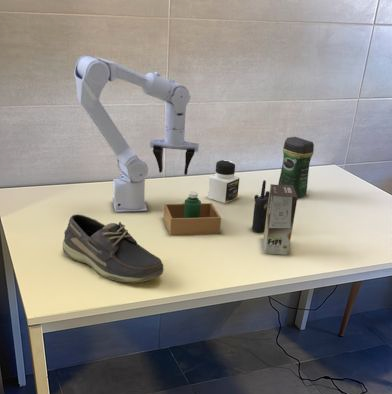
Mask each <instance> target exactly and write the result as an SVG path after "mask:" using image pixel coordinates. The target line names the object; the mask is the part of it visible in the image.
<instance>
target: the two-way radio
mask: <svg viewBox="0 0 392 394" xmlns="http://www.w3.org/2000/svg"><path fill="white" fill-rule="evenodd" d="M266 185H267V180H264V179H263V181H262V186H261V191H260V195H258V194H255V195H254V197H253V198H254V199H253V200H254V206H253V214H252V215H253V216H252V224H251V225H252V226H251V228H252V229H251V230H252V231H253V232H256V233H261V232H264V230H265V222H266V215H267V207H268V200H269V192H270V190H269V191H268V190H267V191H266Z"/></svg>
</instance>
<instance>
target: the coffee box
mask: <svg viewBox="0 0 392 394" xmlns="http://www.w3.org/2000/svg"><path fill="white" fill-rule="evenodd" d="M298 199H299V198H298V197H297V194H296V191H295V189H294V186H291V185H278V184H272V183H271V184H270V185H269V200H268V207H267V215H266V222H265V230H264V231H263V238H262V242H263V249H264V253H265V254H270V255H272V254H273V255H284V256H285V255H286V256H287V255H288V254H289V251H290V245H291V244H290V243H291V239H292V234H293V228H294V221H295V216H296V215H295V214H296V209H297V203H298Z"/></svg>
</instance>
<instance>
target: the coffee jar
mask: <svg viewBox="0 0 392 394" xmlns="http://www.w3.org/2000/svg"><path fill="white" fill-rule="evenodd" d="M314 148H315V144H314V142H313V141H311V140H307V139H304V138H302V137H298V136H291V137H287V138H285V140H284V144H283V147H282V152H283V153H282V154H283V159H282V165H281V170H280V174H279V179H278V184H277V185H291V186H294V189H295V191H296V194H297V197H298V198H297V199H300V198H304V197H305V196H307V192H308V185H309V184H308V183H309V182H308V181H309V172H310V165H311V160H312V157H313V156H314V152H315V149H314Z"/></svg>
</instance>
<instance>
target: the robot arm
mask: <svg viewBox="0 0 392 394" xmlns="http://www.w3.org/2000/svg"><path fill="white" fill-rule="evenodd" d="M73 75H74V78H75V79H74V80H75V86H76V96H77V102H78V103H79V105H80V106H81V108H82V109H83V111H84V112H85V114H86V115H87V117H88V118H89V120H90V121H91V123H92V124H93V125H94V127H95V128H96V130H97V131H98V133H99V134H100V136H101V137H102V139H103V140H104V141H105V143H106V144H107V146H108V147H109V148H110V150H111V152H112V153H113V157H114V158H115V160H116V164H117V165H116V166H117V168H118V170H119V171H120V176H119V177H118V178H113V180H112V193H113V194H112V195H113V196H112V204H113V208H114V211H115V212H116V213H119V212H121V213H122V212H123V213H124V212H148V208H147V205H146V203H145V197H146V196H145V195H146V194H145V192H146V191H145V190H146V184H145V183H146V178H147V176H148V174H149V166H148V164H147V163H146V162H145V161H143V159H140V158H139V157H138V155H137V154H136V153H135V151H134V150H133V149H132V148H131V147H130V145H129V144H128V142H127V141H126V139H125V137H124V136H123V134H122V133H121V131H120V130H119V128H118V127H117V126H116V124H115V122H114V121H113V119H112V118H111V116H110V115H109V113H108V112H107V110H106V109H105V107H104V105H103V104H102V103H101V101H100V97H101V94H102V92H103V90H104V88H105V86H106V85H107V83H108V82H114V81H116V80H120V81H124V82H126V83H130V84H132V85H135V86H138V87H141V90H142V92H143V94H145V95H148V96H150V97H153V98H156V99H157V100H161V101H163V102H165V124H164V125H165V128H164V131H165V132H164V139H150V140H149V148H152V153H153V155H154V157H155V160H156V162H157V166H158V173H163V169H164V168H163V167H164V165H163V156H164V155H163V154H164V149H170V150H180V151H185V156H184V157H185V158H184V159H185V161H184V165H185V166H184V171H183V172H184V173H183V175H184V176H187V175H188V170H189V166H190V164H191V161H192V159H193V157H194V155H195V153H199V150H200V143H197V142H191V141H185V133H186V114H187V113H186V112H187V106H188V104H189V102H190V100H191V95H190V92H189V90H188V88H187V87H186V86H184V85H183V84H180V83H178V82H176V80H175V79H172V78H170V79H168V78H166V77H163V76H161V73H160V72H157V71H154V72H148V73H146V74H143V73H140V72H138V71H136V70H133V69H131V68H129V67H127V66H124V65H123V64H120V63H117V62H116V61H112V60H108V59H105V58H101V57H94V56H93V55H90V54H83V55H82V56H80V57H79V58H78V59H77V61H76V64H75V67H74V70H73Z"/></svg>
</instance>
